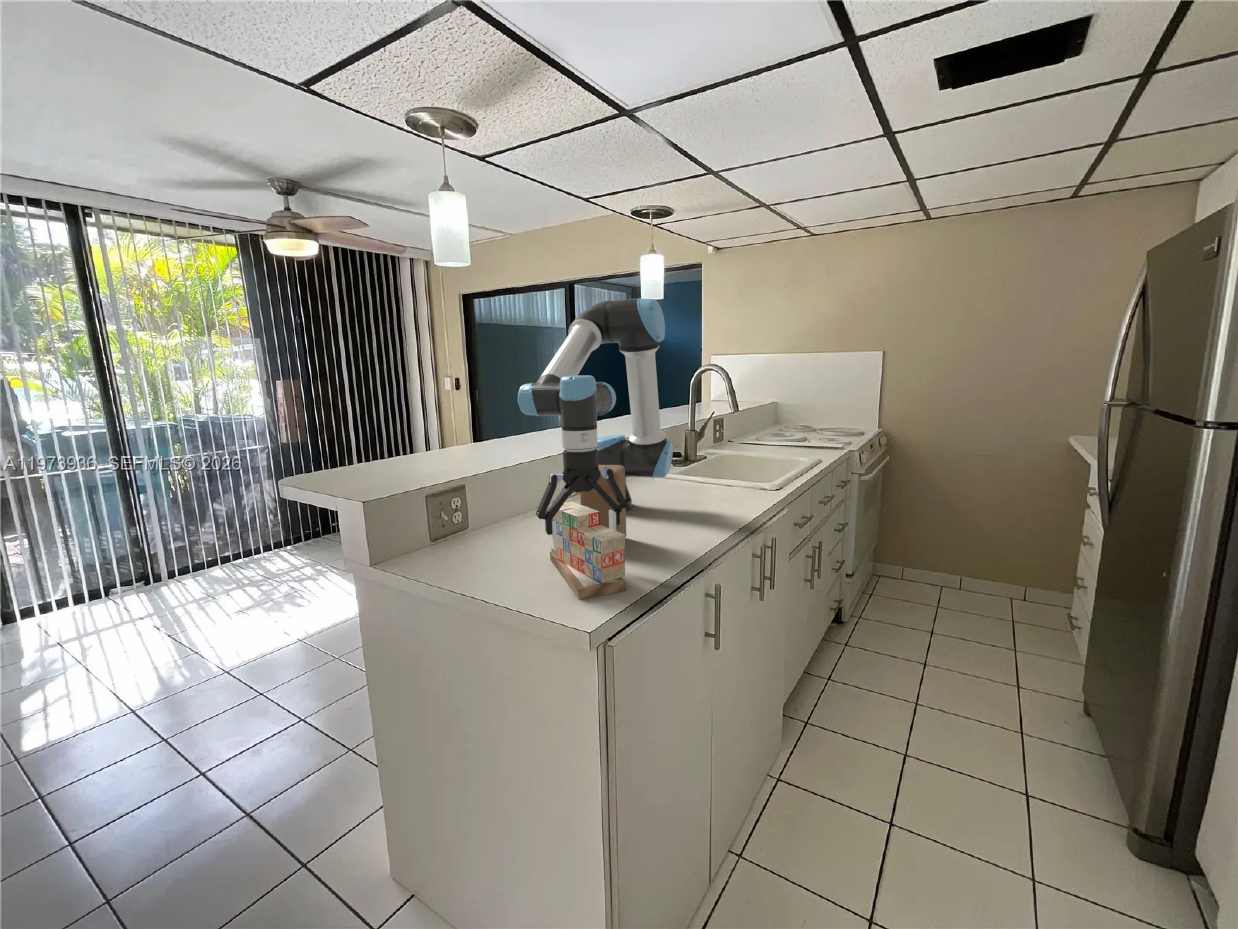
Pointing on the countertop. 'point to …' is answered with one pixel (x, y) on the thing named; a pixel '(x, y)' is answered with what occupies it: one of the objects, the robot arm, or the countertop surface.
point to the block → (599, 504)
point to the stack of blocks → (589, 543)
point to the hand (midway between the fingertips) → (584, 543)
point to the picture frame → (586, 581)
